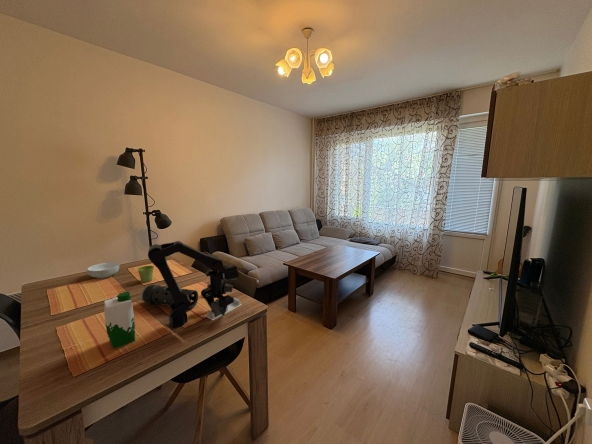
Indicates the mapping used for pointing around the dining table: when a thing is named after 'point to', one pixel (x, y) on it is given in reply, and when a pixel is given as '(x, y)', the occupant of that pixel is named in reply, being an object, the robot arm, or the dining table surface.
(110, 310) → the milk carton
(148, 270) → the plant pot
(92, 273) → the cereal bowl
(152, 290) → the muzzle brake
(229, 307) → the white ridged plate
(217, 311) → the dark grey knobbed block
